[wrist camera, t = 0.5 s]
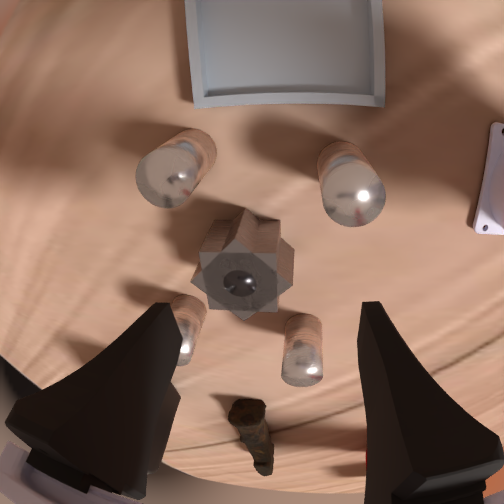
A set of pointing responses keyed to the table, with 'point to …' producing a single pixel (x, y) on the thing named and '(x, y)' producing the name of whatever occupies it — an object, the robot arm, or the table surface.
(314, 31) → the tray
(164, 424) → the battery charger
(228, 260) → the nut
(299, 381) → the cylinder
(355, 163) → the cylinder
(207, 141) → the cylinder
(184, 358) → the cylinder
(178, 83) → the table surface
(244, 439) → the dark brown bar
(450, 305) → the table surface
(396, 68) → the table surface
